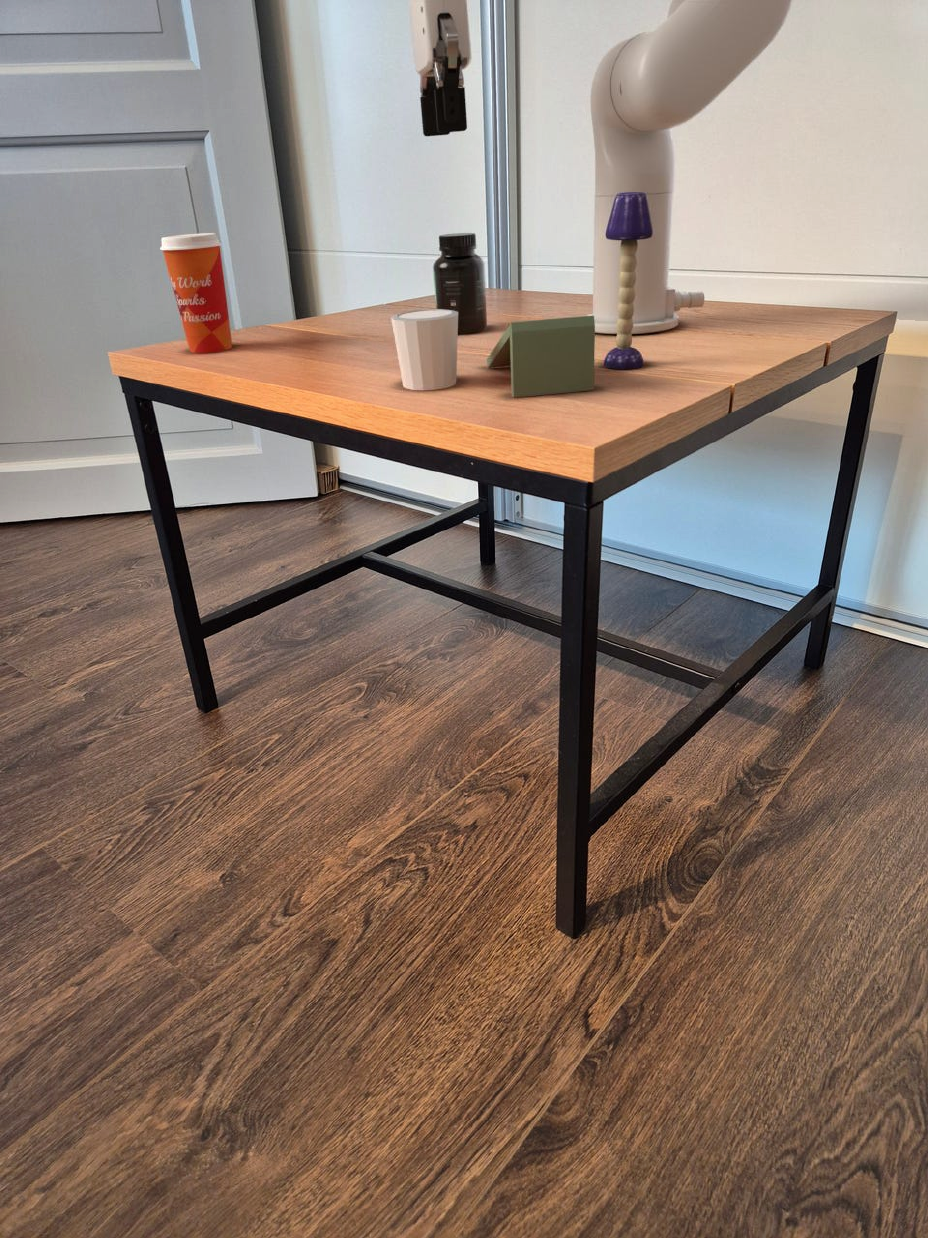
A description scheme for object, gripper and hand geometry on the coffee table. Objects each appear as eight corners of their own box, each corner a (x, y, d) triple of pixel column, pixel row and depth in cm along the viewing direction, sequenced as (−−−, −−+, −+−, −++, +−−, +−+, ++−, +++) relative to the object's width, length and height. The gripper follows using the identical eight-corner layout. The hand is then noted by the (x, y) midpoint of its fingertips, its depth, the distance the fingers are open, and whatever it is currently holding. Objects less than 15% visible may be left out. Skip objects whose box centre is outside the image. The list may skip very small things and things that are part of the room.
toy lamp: (655, 365, 89) (664, 190, 81) (622, 373, 87) (629, 193, 79) (624, 359, 93) (630, 190, 85) (592, 366, 91) (595, 194, 82)
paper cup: (169, 354, 111) (144, 239, 104) (204, 342, 117) (182, 233, 110) (219, 355, 108) (196, 237, 101) (252, 343, 114) (232, 231, 108)
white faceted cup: (454, 391, 84) (450, 318, 80) (389, 392, 85) (382, 320, 82) (468, 375, 90) (464, 307, 86) (407, 376, 91) (401, 308, 88)
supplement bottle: (428, 333, 113) (421, 237, 108) (453, 324, 119) (447, 232, 113) (472, 335, 110) (467, 236, 105) (495, 326, 116) (492, 231, 110)
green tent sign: (487, 367, 93) (484, 301, 90) (557, 361, 94) (556, 296, 90) (513, 397, 80) (511, 323, 77) (593, 390, 81) (595, 315, 78)
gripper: (483, -81, 79) (493, 127, 88) (450, -41, 94) (461, 134, 103) (406, -78, 78) (423, 132, 87) (384, -37, 93) (401, 139, 102)
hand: (444, 133), depth 95 cm, fingers open, 9 cm apart
